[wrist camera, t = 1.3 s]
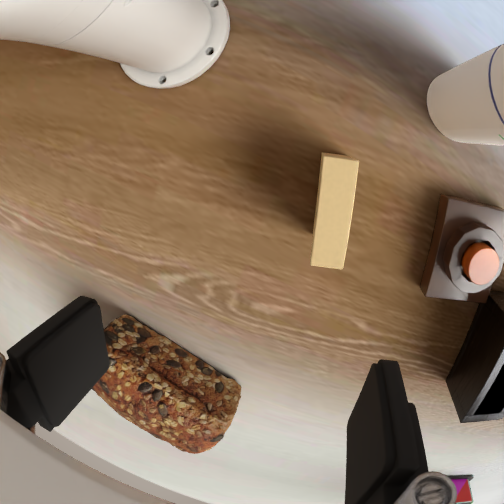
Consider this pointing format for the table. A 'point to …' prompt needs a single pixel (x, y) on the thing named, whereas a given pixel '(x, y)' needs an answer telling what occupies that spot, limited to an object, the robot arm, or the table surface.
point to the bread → (165, 388)
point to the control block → (461, 248)
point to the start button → (480, 263)
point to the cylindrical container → (471, 100)
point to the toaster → (481, 365)
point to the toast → (333, 210)
